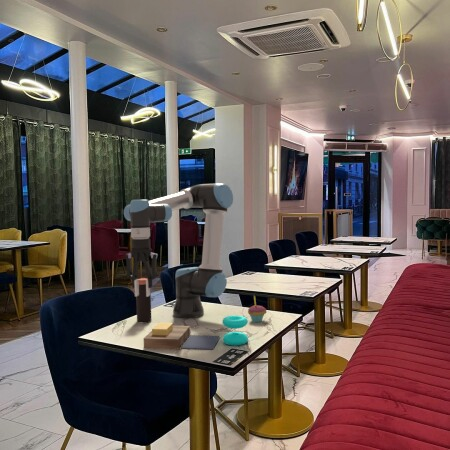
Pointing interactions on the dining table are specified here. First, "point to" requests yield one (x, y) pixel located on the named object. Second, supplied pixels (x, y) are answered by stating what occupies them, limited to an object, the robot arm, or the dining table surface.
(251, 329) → the dining table surface
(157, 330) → the yellow flat block
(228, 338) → the donuts
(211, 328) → the dining table surface
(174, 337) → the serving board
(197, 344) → the mat
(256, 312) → the cupcake
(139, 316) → the bottle
